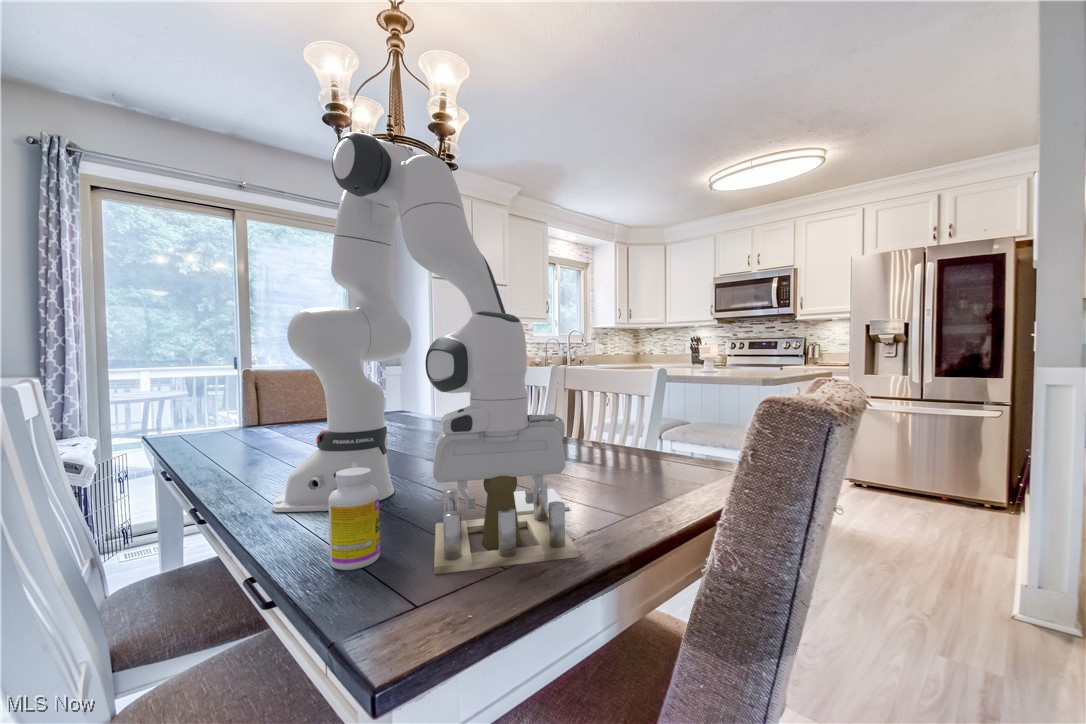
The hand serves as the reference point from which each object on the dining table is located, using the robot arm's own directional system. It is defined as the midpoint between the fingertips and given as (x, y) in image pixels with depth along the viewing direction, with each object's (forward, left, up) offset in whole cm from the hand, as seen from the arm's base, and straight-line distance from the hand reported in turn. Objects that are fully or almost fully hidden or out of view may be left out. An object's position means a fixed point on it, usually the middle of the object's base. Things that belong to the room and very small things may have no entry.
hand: (500, 505), depth 70 cm
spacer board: (0, 0, -6) cm, 6 cm away
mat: (+8, +17, -6) cm, 20 cm away
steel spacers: (0, 0, -6) cm, 6 cm away
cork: (0, 0, -6) cm, 6 cm away
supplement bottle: (-21, -1, -6) cm, 22 cm away
